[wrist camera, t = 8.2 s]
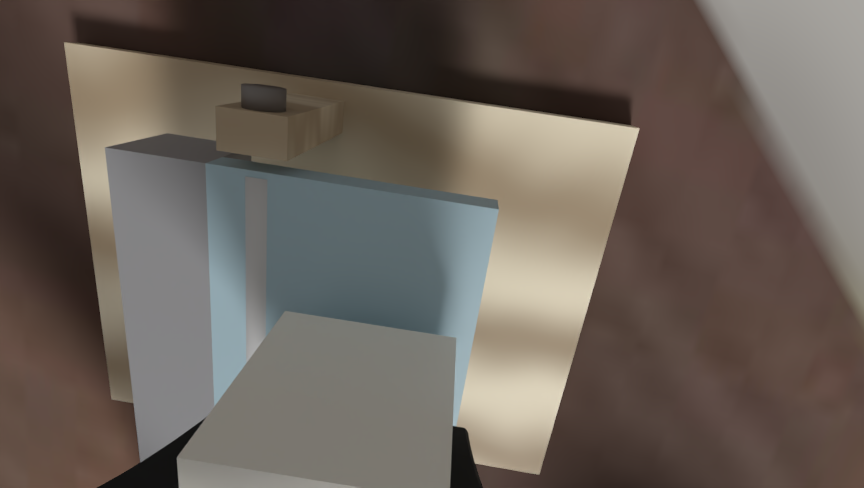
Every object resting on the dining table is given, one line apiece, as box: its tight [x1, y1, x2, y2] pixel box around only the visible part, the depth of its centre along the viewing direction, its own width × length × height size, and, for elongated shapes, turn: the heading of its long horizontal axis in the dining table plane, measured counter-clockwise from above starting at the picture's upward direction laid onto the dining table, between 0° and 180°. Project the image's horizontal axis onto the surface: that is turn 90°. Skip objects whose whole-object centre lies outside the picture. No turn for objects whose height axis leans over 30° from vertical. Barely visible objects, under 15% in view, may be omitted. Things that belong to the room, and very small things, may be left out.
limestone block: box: [177, 311, 456, 488], centre depth 12 cm, size 5×5×6 cm
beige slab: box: [64, 42, 639, 475], centre depth 19 cm, size 17×22×7 cm
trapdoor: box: [105, 133, 499, 462], centre depth 17 cm, size 12×12×3 cm
